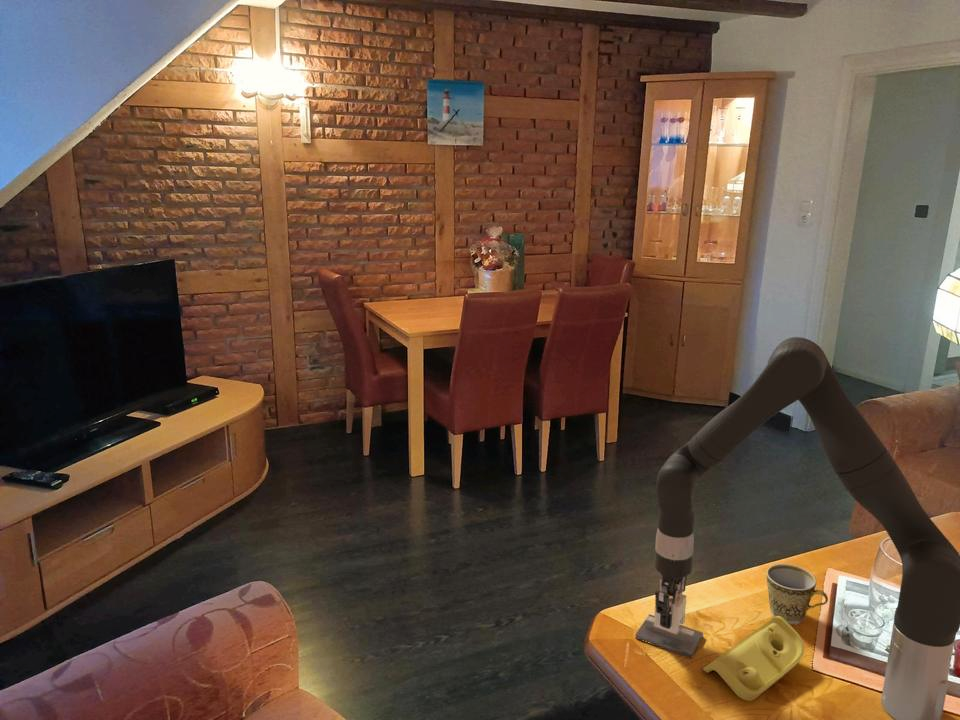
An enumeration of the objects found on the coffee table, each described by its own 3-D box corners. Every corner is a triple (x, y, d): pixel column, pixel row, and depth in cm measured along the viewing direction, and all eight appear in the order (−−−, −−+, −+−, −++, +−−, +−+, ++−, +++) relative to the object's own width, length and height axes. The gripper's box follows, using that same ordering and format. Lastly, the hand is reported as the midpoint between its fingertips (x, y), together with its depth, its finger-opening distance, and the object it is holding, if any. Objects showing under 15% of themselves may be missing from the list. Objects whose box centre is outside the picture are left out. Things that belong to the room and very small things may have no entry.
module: (684, 622, 148) (686, 594, 146) (677, 634, 144) (678, 606, 142) (661, 614, 151) (663, 587, 149) (653, 626, 147) (655, 598, 145)
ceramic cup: (754, 615, 155) (758, 576, 152) (775, 596, 161) (779, 558, 158) (813, 643, 145) (818, 602, 143) (833, 622, 152) (838, 582, 149)
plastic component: (752, 699, 128) (712, 653, 134) (736, 716, 132) (698, 671, 138) (814, 650, 138) (774, 609, 144) (797, 667, 143) (759, 627, 148)
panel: (703, 636, 148) (703, 624, 147) (691, 658, 142) (692, 646, 141) (649, 618, 155) (649, 606, 154) (635, 638, 148) (636, 626, 148)
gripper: (680, 571, 135) (676, 645, 139) (702, 538, 146) (697, 607, 151) (643, 559, 139) (640, 632, 144) (668, 528, 150) (664, 596, 155)
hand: (669, 619), depth 147 cm, fingers closed on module, 4 cm apart
